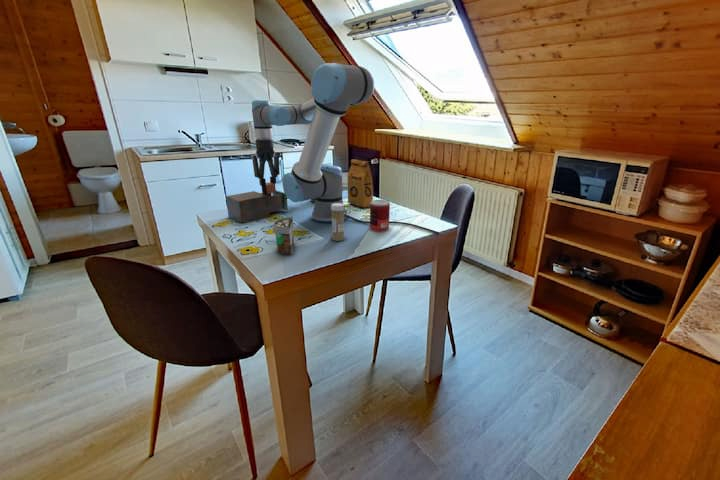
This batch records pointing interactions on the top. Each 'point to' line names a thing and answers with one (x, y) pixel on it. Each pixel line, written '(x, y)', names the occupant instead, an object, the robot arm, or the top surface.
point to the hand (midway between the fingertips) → (268, 191)
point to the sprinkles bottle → (337, 221)
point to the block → (270, 188)
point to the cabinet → (247, 206)
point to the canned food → (379, 215)
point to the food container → (284, 235)
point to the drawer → (277, 201)
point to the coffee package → (360, 184)
